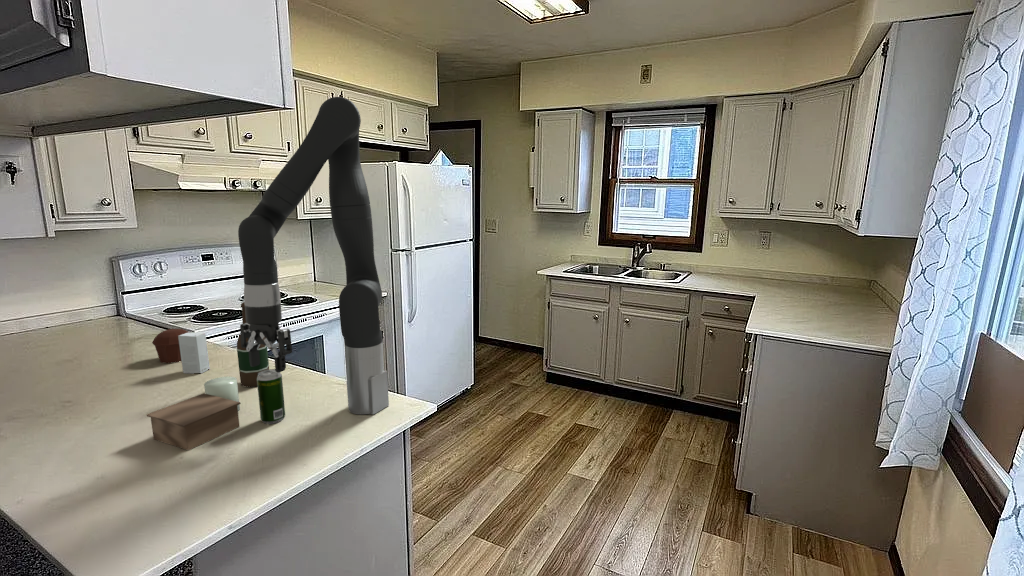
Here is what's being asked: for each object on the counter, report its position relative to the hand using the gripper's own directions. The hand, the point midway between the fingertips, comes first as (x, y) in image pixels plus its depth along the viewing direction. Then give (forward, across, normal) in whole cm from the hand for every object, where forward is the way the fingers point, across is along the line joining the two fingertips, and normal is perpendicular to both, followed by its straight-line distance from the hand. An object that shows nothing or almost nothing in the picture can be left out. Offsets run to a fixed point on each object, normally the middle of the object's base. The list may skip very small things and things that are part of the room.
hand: (267, 368), depth 116 cm
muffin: (+14, +68, -19) cm, 72 cm away
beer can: (+13, 0, 0) cm, 13 cm away
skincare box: (+14, +50, -14) cm, 53 cm away
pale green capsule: (+13, +14, +2) cm, 20 cm away
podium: (+13, +9, +12) cm, 20 cm away
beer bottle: (+14, +24, -15) cm, 32 cm away
